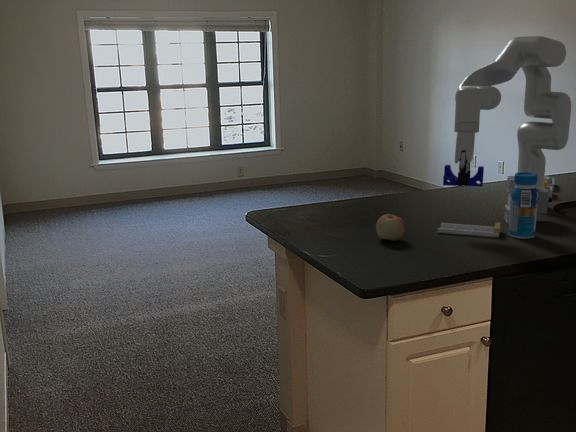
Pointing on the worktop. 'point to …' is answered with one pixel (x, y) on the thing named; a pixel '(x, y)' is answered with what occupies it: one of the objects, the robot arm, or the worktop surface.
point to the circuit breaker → (541, 199)
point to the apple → (390, 227)
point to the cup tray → (551, 183)
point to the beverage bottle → (523, 206)
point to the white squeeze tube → (470, 230)
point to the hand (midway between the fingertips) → (463, 183)
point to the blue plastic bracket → (454, 180)
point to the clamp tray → (548, 188)
